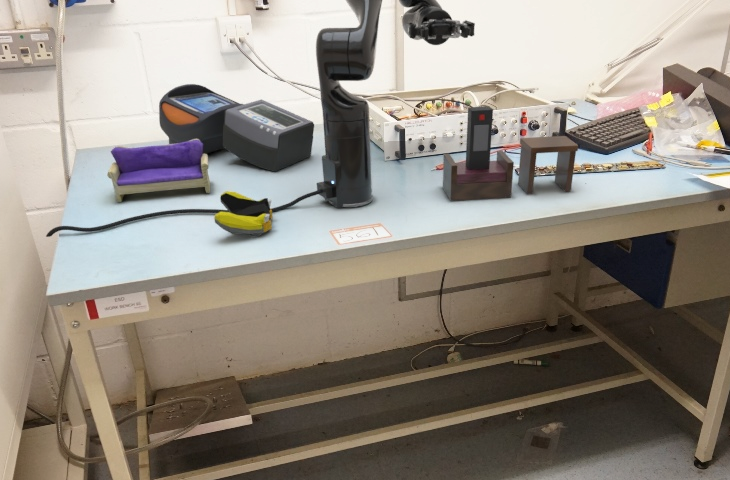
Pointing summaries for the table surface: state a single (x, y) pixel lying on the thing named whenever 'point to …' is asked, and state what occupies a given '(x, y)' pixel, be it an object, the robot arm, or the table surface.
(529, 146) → the walnut shelf
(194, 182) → the toy sofa
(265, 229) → the yellow bananas
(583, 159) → the table surface
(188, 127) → the diagnostic device
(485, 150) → the slim remote
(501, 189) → the cushioned bench
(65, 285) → the table surface
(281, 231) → the table surface
